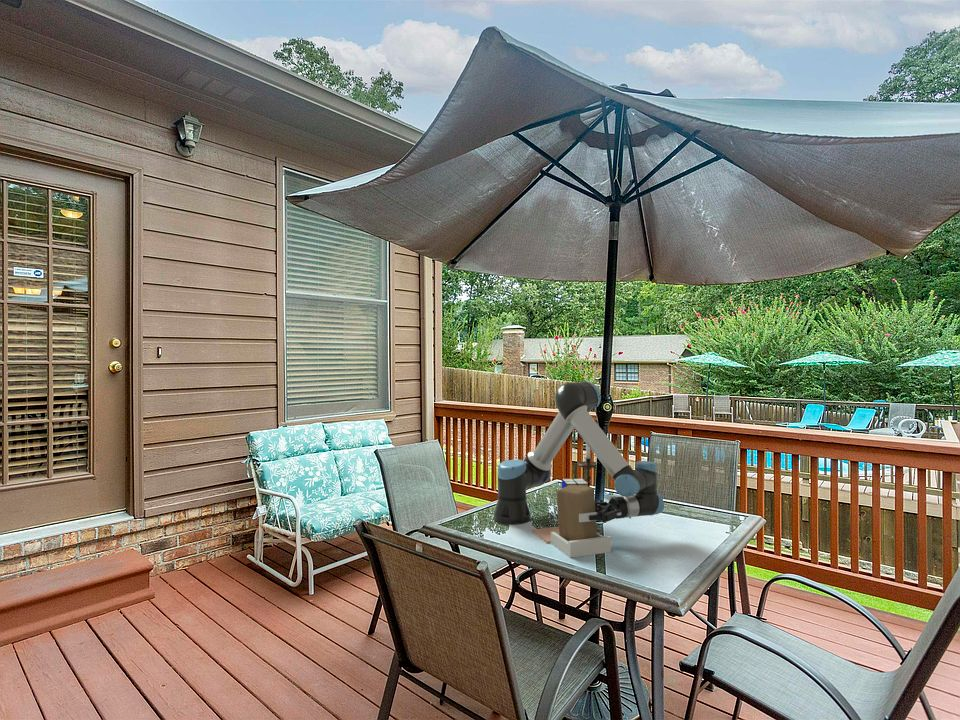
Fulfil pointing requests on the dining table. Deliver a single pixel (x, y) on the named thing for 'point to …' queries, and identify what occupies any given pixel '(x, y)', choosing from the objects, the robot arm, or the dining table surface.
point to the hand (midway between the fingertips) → (569, 512)
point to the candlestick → (587, 464)
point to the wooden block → (575, 512)
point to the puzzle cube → (573, 482)
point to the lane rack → (582, 545)
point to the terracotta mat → (546, 533)
